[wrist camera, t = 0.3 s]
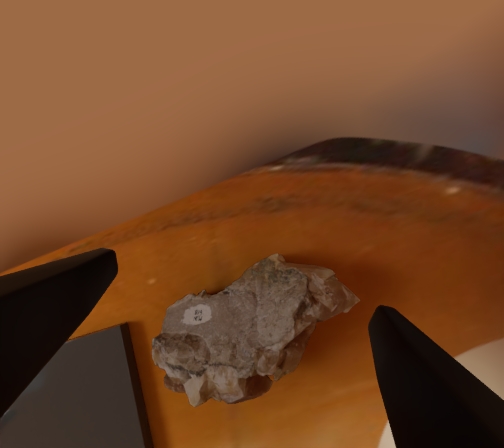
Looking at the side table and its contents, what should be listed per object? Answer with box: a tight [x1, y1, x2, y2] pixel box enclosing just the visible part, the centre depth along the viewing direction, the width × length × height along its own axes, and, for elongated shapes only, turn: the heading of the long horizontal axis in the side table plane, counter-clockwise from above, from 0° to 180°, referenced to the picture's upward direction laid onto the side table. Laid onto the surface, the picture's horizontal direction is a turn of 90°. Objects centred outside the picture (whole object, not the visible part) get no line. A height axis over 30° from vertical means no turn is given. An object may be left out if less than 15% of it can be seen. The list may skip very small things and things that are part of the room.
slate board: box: [0, 322, 154, 448], centre depth 20 cm, size 18×14×1 cm
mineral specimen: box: [152, 254, 360, 407], centre depth 19 cm, size 13×7×15 cm
